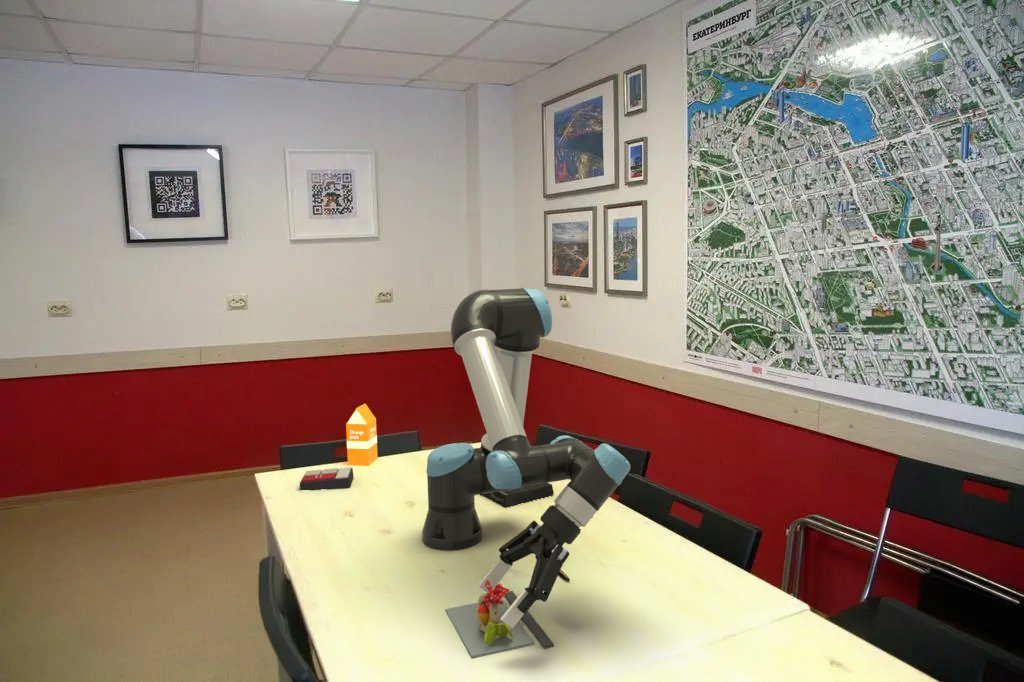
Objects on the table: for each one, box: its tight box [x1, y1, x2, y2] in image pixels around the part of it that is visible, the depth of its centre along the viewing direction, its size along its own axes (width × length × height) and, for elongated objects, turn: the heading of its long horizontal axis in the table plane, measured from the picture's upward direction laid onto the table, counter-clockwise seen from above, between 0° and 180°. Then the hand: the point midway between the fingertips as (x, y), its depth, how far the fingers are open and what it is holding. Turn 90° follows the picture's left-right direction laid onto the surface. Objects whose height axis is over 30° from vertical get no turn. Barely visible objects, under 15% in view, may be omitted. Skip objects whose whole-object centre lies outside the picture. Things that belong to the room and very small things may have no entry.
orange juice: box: [345, 403, 378, 467], centre depth 244 cm, size 8×9×20 cm
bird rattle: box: [477, 580, 513, 645], centre depth 130 cm, size 6×11×9 cm
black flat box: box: [479, 482, 555, 509], centre depth 209 cm, size 16×17×4 cm
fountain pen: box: [558, 569, 571, 582], centre depth 158 cm, size 14×1×2 cm, turn 24°
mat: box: [445, 590, 555, 659], centre depth 135 cm, size 22×15×1 cm
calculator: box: [299, 466, 354, 491], centre depth 221 cm, size 11×4×15 cm
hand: (494, 606), depth 129 cm, fingers open, 13 cm apart
